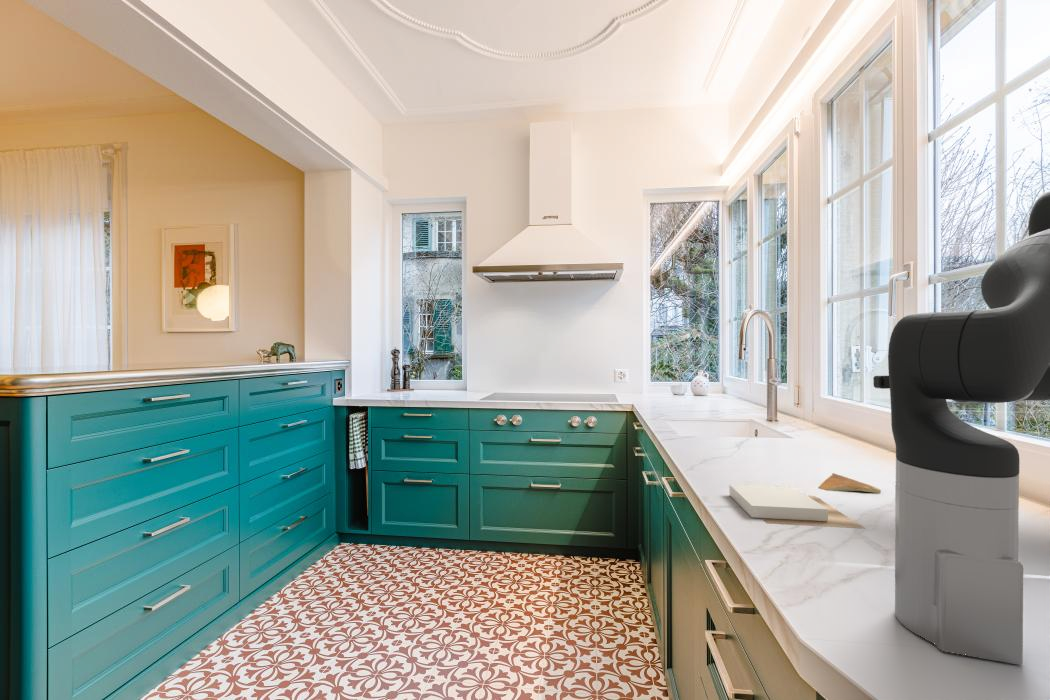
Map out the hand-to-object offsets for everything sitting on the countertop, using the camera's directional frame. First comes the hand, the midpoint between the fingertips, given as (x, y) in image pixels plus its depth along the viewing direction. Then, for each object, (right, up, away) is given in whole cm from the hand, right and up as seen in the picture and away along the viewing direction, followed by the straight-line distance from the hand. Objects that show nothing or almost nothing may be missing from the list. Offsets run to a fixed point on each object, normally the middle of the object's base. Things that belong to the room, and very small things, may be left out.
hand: (876, 382), depth 79 cm
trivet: (-14, -23, +2) cm, 27 cm away
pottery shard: (+6, -24, +14) cm, 29 cm away
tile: (-11, -22, +2) cm, 25 cm away
